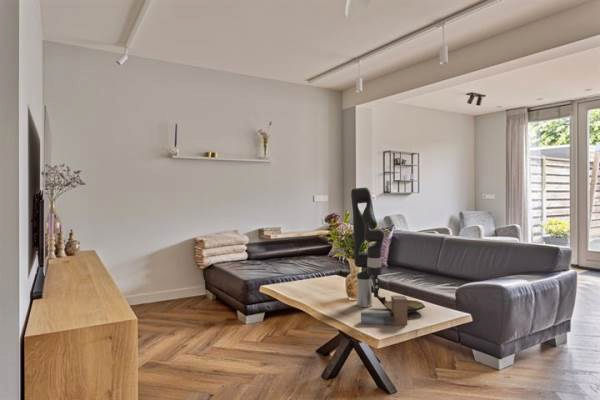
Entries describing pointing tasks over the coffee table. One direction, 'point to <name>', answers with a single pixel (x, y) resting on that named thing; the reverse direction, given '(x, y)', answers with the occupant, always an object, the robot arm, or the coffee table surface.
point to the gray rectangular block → (374, 317)
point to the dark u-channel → (397, 311)
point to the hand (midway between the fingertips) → (374, 295)
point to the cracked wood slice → (411, 304)
